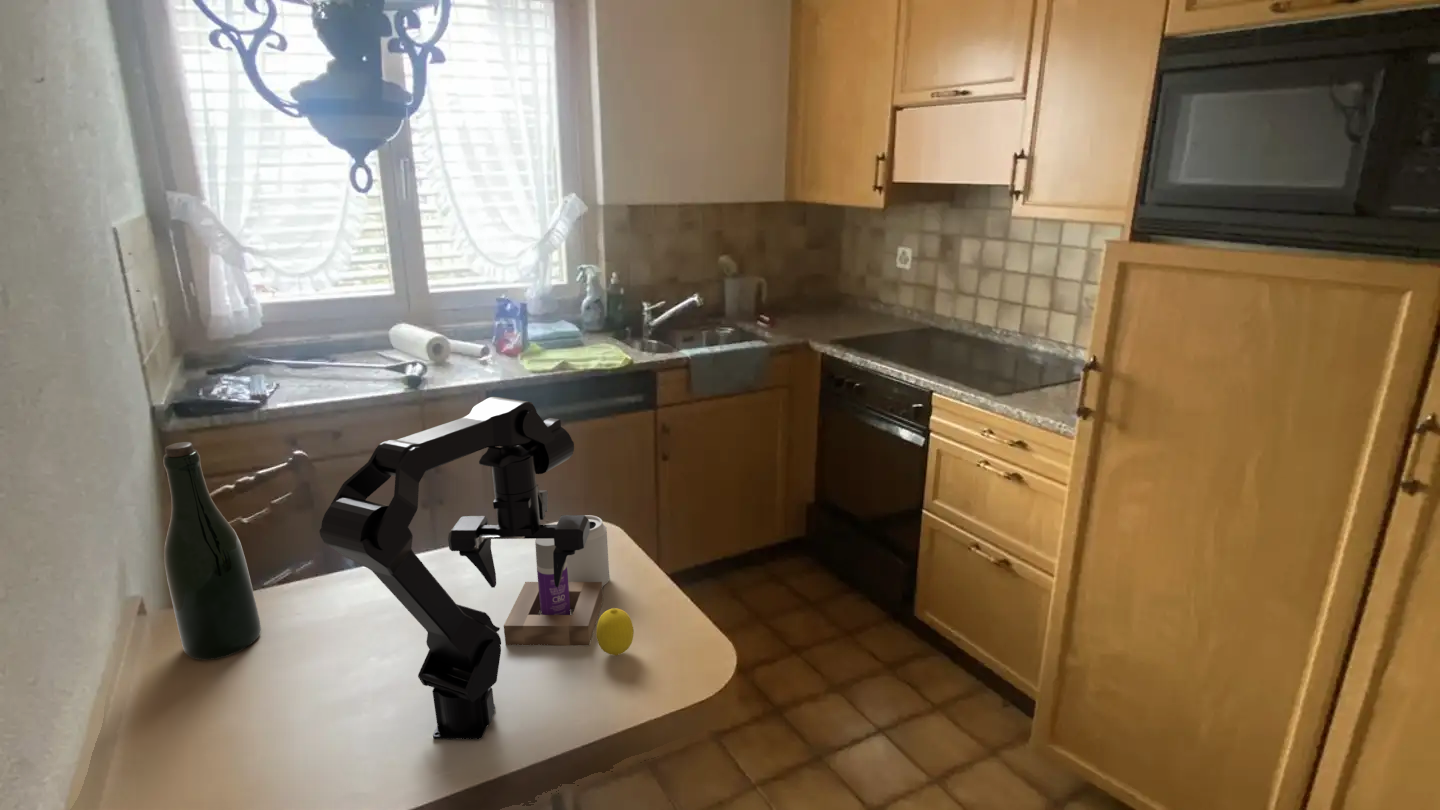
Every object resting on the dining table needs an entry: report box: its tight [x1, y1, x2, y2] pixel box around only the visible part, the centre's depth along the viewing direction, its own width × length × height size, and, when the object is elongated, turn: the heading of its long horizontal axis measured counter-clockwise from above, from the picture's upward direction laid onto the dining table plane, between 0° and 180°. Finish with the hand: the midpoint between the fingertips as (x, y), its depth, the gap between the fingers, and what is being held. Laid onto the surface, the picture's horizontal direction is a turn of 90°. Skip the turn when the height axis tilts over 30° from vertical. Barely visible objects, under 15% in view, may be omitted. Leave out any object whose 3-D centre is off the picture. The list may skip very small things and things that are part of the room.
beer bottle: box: [162, 441, 262, 661], centre depth 118 cm, size 10×10×33 cm
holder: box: [503, 581, 604, 647], centre depth 127 cm, size 13×13×4 cm
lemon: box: [595, 607, 634, 657], centre depth 118 cm, size 6×6×8 cm
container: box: [534, 538, 572, 615], centre depth 125 cm, size 5×5×15 cm
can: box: [566, 514, 610, 588], centre depth 137 cm, size 8×8×12 cm
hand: (525, 585), depth 114 cm, fingers open, 9 cm apart
